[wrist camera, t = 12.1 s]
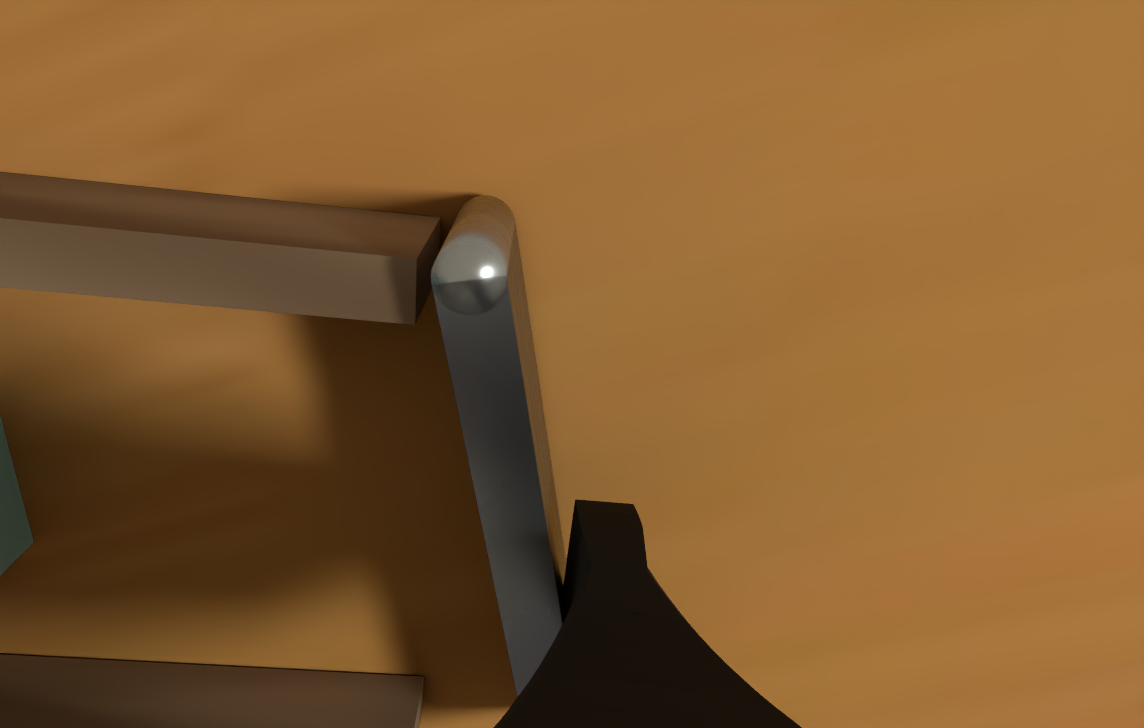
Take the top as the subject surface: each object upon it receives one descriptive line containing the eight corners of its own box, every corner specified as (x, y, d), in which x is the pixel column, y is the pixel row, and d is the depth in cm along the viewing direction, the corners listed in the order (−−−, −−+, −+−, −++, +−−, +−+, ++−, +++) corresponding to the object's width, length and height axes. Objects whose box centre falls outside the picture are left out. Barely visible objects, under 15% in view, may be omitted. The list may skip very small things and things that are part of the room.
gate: (588, 709, 17) (596, 836, 14) (547, 713, 17) (547, 841, 14) (511, 191, 12) (500, 238, 9) (451, 199, 12) (423, 248, 9)
